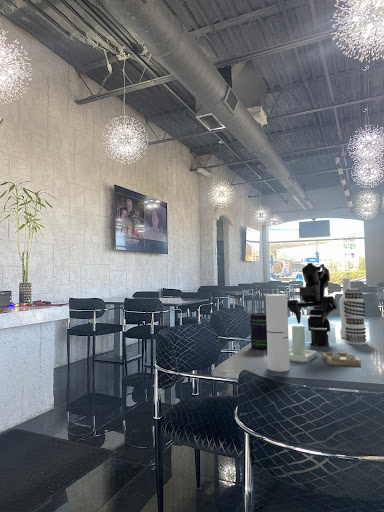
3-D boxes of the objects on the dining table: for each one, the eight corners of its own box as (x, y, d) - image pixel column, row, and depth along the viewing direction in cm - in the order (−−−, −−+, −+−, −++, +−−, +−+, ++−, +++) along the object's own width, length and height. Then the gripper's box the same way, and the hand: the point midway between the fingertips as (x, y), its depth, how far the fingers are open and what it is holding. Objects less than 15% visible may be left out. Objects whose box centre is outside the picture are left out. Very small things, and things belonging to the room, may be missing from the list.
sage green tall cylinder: (290, 354, 135) (289, 326, 136) (301, 353, 136) (300, 325, 137) (296, 357, 130) (296, 327, 131) (307, 356, 132) (306, 327, 132)
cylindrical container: (265, 366, 121) (263, 294, 123) (285, 365, 122) (282, 294, 123) (271, 371, 114) (269, 295, 116) (292, 371, 115) (290, 295, 116)
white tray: (291, 353, 141) (291, 348, 141) (316, 356, 135) (316, 350, 135) (281, 359, 131) (280, 354, 131) (307, 362, 125) (307, 356, 126)
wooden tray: (322, 357, 132) (322, 352, 132) (349, 358, 131) (349, 352, 131) (330, 365, 120) (330, 359, 121) (360, 366, 119) (360, 360, 119)
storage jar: (274, 350, 147) (273, 315, 148) (250, 350, 148) (249, 315, 149) (272, 346, 156) (271, 312, 157) (250, 345, 158) (249, 312, 159)
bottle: (358, 337, 176) (355, 277, 178) (358, 339, 168) (355, 277, 170) (340, 336, 179) (338, 278, 181) (340, 338, 172) (337, 278, 174)
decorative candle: (341, 343, 161) (339, 288, 162) (350, 340, 167) (347, 288, 168) (362, 345, 154) (359, 289, 156) (370, 342, 160) (367, 288, 162)
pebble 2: (344, 361, 122) (344, 353, 122) (348, 360, 124) (347, 351, 124) (353, 363, 120) (352, 354, 120) (356, 361, 122) (356, 353, 122)
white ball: (329, 361, 123) (329, 353, 123) (333, 360, 125) (333, 351, 125) (337, 363, 121) (337, 354, 121) (341, 361, 123) (341, 352, 123)
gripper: (283, 281, 146) (279, 313, 137) (329, 275, 136) (328, 309, 127) (293, 296, 153) (290, 327, 144) (337, 291, 142) (337, 325, 133)
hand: (310, 322), depth 136 cm, fingers open, 9 cm apart
